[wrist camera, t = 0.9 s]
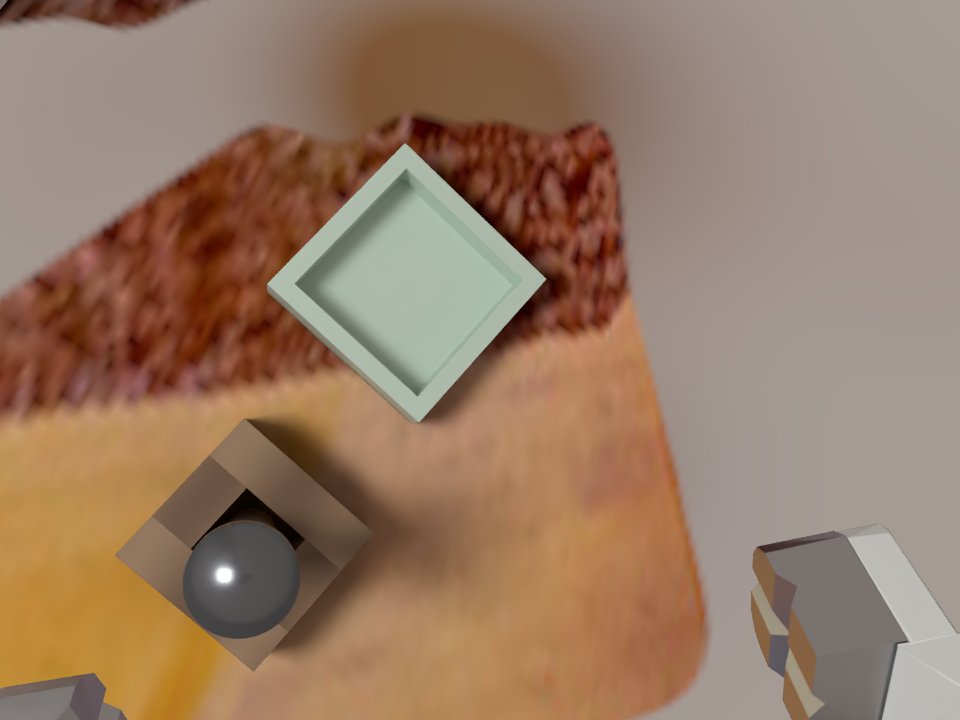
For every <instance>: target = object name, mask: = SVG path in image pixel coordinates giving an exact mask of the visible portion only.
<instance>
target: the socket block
mask: <svg viewBox="0 0 960 720" xmlns="http://www.w3.org/2000/svg"><path fill="white" fill-rule="evenodd" d="M246 488H247V489H249V490H250V491H251V492H252V493H253V494H254V495H255V496H257V497H258V498H259V499H260V500H261V501H262V502H263V503H265V504H266V505H267V506H268V507H269V508H270V509H271V510H273V511H274V512H275V513H276V514H277V515H278V516H280V517H281V518H282V519H283V520H284V521H285V522H286V523H288V524H289V525H290V526H291V527H292V528H293V529H294V530H296V531H297V532H298V533H299V535H298V536H297V537H296V538H295V540H294V541H293V542H292V543H291V545H292V547H293V549H294V551H295V553H296V556H297V560H298V564H299V569H300V586H299V592H298V595H297V598H296V600H295V603H294V605H293V607H292V608H291V610H290V612H289V613H288V614H287V615H286V617H285V618H284V619H283V620H282V621H281V622H280V623H279V624H278V625H276V626H275V627H274V628H272V629H271V630H269V631H267V632H265V633H263V634H261V635H258V636H255V637H251V638H245V639H231V638H225V637H221V636H218V635H216V634H213V633H212V632H210V631H208V630H206V629H205V628H204V627H202V626H201V625H200V624H199V623H198V622H197V621H196V620H195V619H194V617H193V616H192V615H191V613H190V611H189V609H188V607H187V605H186V602H185V599H184V595H183V575H184V570H185V567H186V564H187V561H188V559H189V557H190V555H191V554H192V552H193V550H194V549H195V547H196V546H197V544H198V543H199V542H200V541H199V539H200V538H201V537H202V536H203V535H204V534H205V533H206V531H207V530H208V529H209V528H210V527H211V526H212V525H213V524H214V523H215V522H216V521H217V520H218V518H219V517H220V516H221V515H222V514H223V513H224V512H225V511H226V510H227V509H228V508H229V507H230V506H231V504H232V503H233V502H234V501H235V500H236V499H237V498H238V497H239V496H240V495H241V494H242V493H243V491H244V490H245V489H246ZM373 534H374V533H373V532H372V531H371V530H370V529H369V528H368V527H367V525H365V524H364V523H363V522H362V521H361V520H360V519H359V518H358V517H356V516H355V515H354V514H353V513H352V512H351V511H350V510H348V509H347V508H346V507H345V506H344V505H343V504H342V503H341V502H339V501H338V500H337V499H336V498H335V497H334V496H333V495H332V494H330V493H329V492H328V491H327V490H326V489H325V488H324V487H322V486H321V485H320V484H319V483H318V482H317V481H316V480H315V479H313V478H312V477H311V476H310V475H309V474H308V473H307V472H306V471H304V470H303V469H302V468H301V467H300V466H299V465H298V464H296V463H295V462H294V461H293V460H292V459H291V458H290V457H289V456H287V455H286V454H285V453H284V452H283V451H282V450H281V449H279V448H278V447H277V446H276V445H275V444H274V443H273V442H272V441H270V440H269V439H268V438H267V437H266V436H265V435H264V434H263V433H261V432H260V431H259V430H258V429H257V428H256V427H255V426H253V425H252V424H251V423H250V422H249V421H248V420H247V419H243V420H242V421H241V422H240V423H239V424H238V425H237V427H236V428H235V429H234V430H233V431H232V432H231V433H230V434H229V435H228V436H227V437H226V438H225V439H224V440H223V441H222V442H221V443H220V445H219V446H218V447H217V448H216V449H215V450H214V451H213V452H212V453H211V454H210V455H209V456H208V457H207V458H206V459H205V460H204V461H203V463H202V464H201V465H200V466H199V467H198V468H197V469H196V470H195V471H194V472H193V473H192V474H191V475H190V476H189V477H188V478H187V479H186V481H185V482H184V483H183V484H182V485H181V486H180V487H179V488H178V489H177V490H176V491H175V492H174V493H173V494H172V495H171V496H170V497H169V499H168V500H167V501H166V502H165V503H164V504H163V505H162V506H161V507H160V508H159V509H158V510H157V511H156V512H155V513H154V514H153V515H152V516H151V518H150V519H149V520H148V521H147V522H146V523H145V524H144V525H143V526H142V527H141V528H140V529H139V530H138V531H137V532H136V533H135V534H134V536H133V537H132V538H131V539H130V540H129V541H128V542H127V543H126V544H125V545H124V546H123V547H122V548H121V549H120V550H119V551H118V552H117V554H116V555H115V556H116V557H118V558H119V559H120V560H121V561H122V562H124V563H125V564H126V565H127V566H128V567H130V568H131V569H132V570H133V571H134V572H136V573H137V574H138V575H139V576H140V577H141V578H143V579H144V580H145V581H146V582H147V583H149V584H150V585H151V586H152V587H153V588H155V589H156V590H157V591H158V592H159V593H161V594H162V595H163V596H164V597H165V598H166V599H168V600H169V601H170V602H171V603H172V604H174V605H175V606H176V607H177V608H178V609H180V610H181V611H182V612H183V613H184V614H186V615H187V616H188V617H189V618H190V619H192V620H193V621H194V622H195V623H196V624H197V625H199V626H200V627H201V628H202V629H203V630H205V631H206V632H207V633H208V634H209V635H211V636H212V637H213V638H214V639H215V640H217V641H218V642H219V643H220V644H221V645H222V646H224V647H225V648H226V649H227V650H228V651H230V652H231V653H232V654H233V655H234V656H236V657H237V658H238V659H239V660H240V661H242V662H243V663H244V664H245V665H246V666H247V667H249V668H250V669H251V670H252V671H253V672H254V671H255V669H256V668H257V667H258V666H259V665H260V664H261V663H262V661H263V660H264V659H265V658H266V657H267V656H268V655H269V653H270V652H271V651H272V650H273V649H274V648H275V647H276V645H277V644H278V643H279V642H280V641H281V640H282V639H283V637H284V636H285V635H286V634H287V633H288V632H289V631H290V629H291V628H292V627H293V626H294V625H295V624H296V622H297V621H298V620H299V619H300V618H301V617H302V616H303V614H304V613H305V612H306V611H307V610H308V609H309V608H310V606H311V605H312V604H313V603H314V602H315V601H316V600H317V598H318V597H319V596H320V595H321V594H322V593H323V592H324V590H325V589H326V588H327V587H328V586H329V585H330V584H331V582H332V581H333V580H334V579H335V578H336V577H337V575H338V574H339V573H340V572H341V571H342V570H343V569H344V567H345V566H346V565H347V564H348V563H349V562H350V561H351V559H352V558H353V557H354V556H355V555H356V554H357V553H358V551H359V550H360V549H361V548H362V547H363V546H364V545H365V543H366V542H367V541H368V540H369V539H370V538H371V537H372V535H373Z"/></svg>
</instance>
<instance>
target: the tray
mask: <svg viewBox="0 0 960 720" xmlns="http://www.w3.org/2000/svg"><path fill="white" fill-rule="evenodd" d="M545 280H546V278H545V277H544V276H543V275H542V274H541V273H540V272H538V271H537V270H536V269H535V268H534V267H533V266H532V265H531V264H530V263H529V262H528V261H527V260H526V259H525V258H524V257H523V256H522V255H521V254H520V253H519V252H518V251H517V250H516V249H515V248H514V247H512V246H511V245H510V244H509V243H508V242H507V241H506V240H505V239H504V238H503V237H502V236H501V235H500V234H499V233H498V232H497V231H496V230H495V229H494V228H493V227H492V226H491V225H490V224H489V223H488V222H487V221H485V220H484V219H483V218H482V217H481V216H480V215H479V214H478V213H477V212H476V211H475V210H474V209H473V208H472V207H471V206H470V205H469V204H468V203H467V202H466V201H465V200H464V199H463V198H462V197H461V196H459V195H458V194H457V193H456V192H455V191H454V190H453V189H452V188H451V187H450V186H449V185H448V184H447V183H446V182H445V181H444V180H443V179H442V178H441V177H440V176H439V175H438V174H437V173H436V172H435V171H434V170H432V169H431V168H430V167H429V166H428V165H427V164H426V163H425V162H424V161H423V160H422V159H421V158H420V157H419V156H418V155H417V154H416V153H415V152H414V151H413V150H412V149H411V148H410V147H409V146H408V145H406V144H404V145H403V146H402V147H401V148H400V149H399V150H398V151H397V152H396V153H395V154H394V155H393V156H392V157H391V158H390V159H389V160H388V161H387V162H386V163H385V164H384V165H383V166H382V167H381V168H380V169H379V170H378V171H377V172H376V173H375V174H374V176H373V177H372V178H371V179H370V180H369V181H368V182H367V183H366V184H365V185H364V186H363V187H362V188H361V189H360V190H359V191H358V192H357V193H356V194H355V195H354V196H353V197H352V198H351V199H350V200H349V201H348V202H347V203H346V204H345V205H344V206H343V207H342V208H341V209H340V210H339V211H338V212H337V213H336V214H335V215H334V216H333V217H332V218H331V219H330V220H329V221H328V222H327V224H326V225H325V226H324V227H323V228H322V229H321V230H320V231H319V232H318V233H317V234H316V235H315V236H314V237H313V238H312V239H311V240H310V241H309V242H308V243H307V244H306V245H305V246H304V247H303V248H302V249H301V250H300V251H299V252H298V253H297V254H296V255H295V256H294V257H293V258H292V259H291V260H290V261H289V262H288V263H287V264H286V265H285V266H284V267H283V268H282V269H281V270H280V271H279V273H278V274H277V275H276V276H275V277H274V278H273V279H272V280H271V281H270V282H269V283H268V284H267V292H268V293H269V294H270V295H271V296H272V297H273V298H274V299H275V300H276V301H277V302H279V303H280V304H281V305H282V306H283V307H284V308H285V309H286V310H287V311H288V312H290V313H291V314H292V315H293V316H294V317H295V318H296V319H297V320H298V321H299V322H300V323H302V324H303V325H304V326H305V327H306V328H307V329H308V330H309V331H310V332H311V333H313V334H314V335H315V336H316V337H317V338H318V339H319V340H320V341H321V342H322V343H324V344H325V345H326V346H327V347H328V348H329V349H330V350H331V351H332V352H333V353H335V354H336V355H337V356H338V357H339V358H340V359H341V360H342V361H343V362H344V363H346V364H347V365H348V366H349V367H350V368H351V369H352V370H353V371H354V372H355V373H356V374H358V375H359V376H360V377H361V378H362V379H363V380H364V381H365V382H366V383H367V384H369V385H370V386H371V387H372V388H373V389H374V390H375V391H376V392H377V393H378V394H380V395H381V396H382V397H383V398H384V399H385V400H386V401H387V402H388V403H389V404H391V405H392V406H393V407H394V408H395V409H396V410H397V411H398V412H399V413H400V414H401V415H403V416H404V417H405V418H406V419H407V420H408V421H409V422H410V423H419V422H420V421H421V420H422V419H423V417H424V416H425V415H426V414H427V413H428V412H429V411H430V410H431V408H432V407H433V406H434V405H435V404H436V403H437V402H438V401H439V399H440V398H441V397H442V396H443V395H444V394H445V393H446V392H447V390H448V389H449V388H450V387H451V386H452V385H453V384H454V383H455V381H456V380H457V379H458V378H459V377H460V376H461V375H462V374H463V372H464V371H465V370H466V369H467V368H468V367H469V366H470V365H471V363H472V362H473V361H474V360H475V359H476V358H477V357H478V356H479V354H480V353H481V352H482V351H483V350H484V349H485V348H486V347H487V345H488V344H489V343H490V342H491V341H492V340H493V339H494V338H495V336H496V335H497V334H498V333H499V332H500V331H501V330H502V329H503V327H504V326H505V325H506V324H507V323H508V322H509V321H510V320H511V318H512V317H513V316H514V315H515V314H516V313H517V312H518V311H519V309H520V308H521V307H522V306H523V305H524V304H525V303H526V302H527V300H528V299H529V298H530V297H531V296H532V295H533V294H534V293H535V291H536V290H537V289H538V288H539V287H540V286H541V285H542V284H543V282H544V281H545Z"/></svg>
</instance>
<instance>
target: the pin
mask: <svg viewBox="0 0 960 720" xmlns="http://www.w3.org/2000/svg"><path fill="white" fill-rule="evenodd" d="M299 586H300V569H299V564H298V560H297V556H296V553H295V551H294V549H293V547H292V545H291V544H290V542H289V541H288V540H287V538H286V537H285V536H284V535H283V534H282V533H280V532H279V531H278V530H276V526H275V524H274V522H273V520H272V519H271V517H270V516H269V515H268V514H266V513H265V512H263V511H261V510H257V509H246V510H242V511H240V512H238V513H236V514H235V515H234V516H233V517H232V518H231V519H230V520H229V521H228V523H226V524H224V525H221V526H219V527H217V528H216V529H214V530H212V531H211V532H209V533H208V534H207V535H206V536H205V537H204V538H203V539H202V540H201V541H200V542H199V543H198V544H197V546H196V547H195V549H194V550H193V552H192V554H191V555H190V557H189V559H188V561H187V564H186V567H185V570H184V575H183V595H184V599H185V602H186V605H187V607H188V609H189V611H190V613H191V615H192V616H193V617H194V619H195V620H196V621H197V622H198V623H199V624H200V625H201V626H202V627H204V628H205V629H206V630H208V631H210V632H212V633H213V634H216V635H218V636H221V637H225V638H231V639H245V638H251V637H255V636H258V635H261V634H263V633H265V632H267V631H269V630H271V629H272V628H274V627H275V626H276V625H278V624H279V623H280V622H281V621H282V620H283V619H284V618H285V617H286V615H287V614H288V613H289V612H290V610H291V608H292V607H293V605H294V603H295V600H296V598H297V595H298V592H299Z"/></svg>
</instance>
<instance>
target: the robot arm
mask: <svg viewBox="0 0 960 720" xmlns="http://www.w3.org/2000/svg"><path fill="white" fill-rule="evenodd" d="M6 1H7V0H0V9H1V8H2V6H3V5H4V4H5V3H6ZM753 570H754V572H755V574H756V576H757V578H758V581H759V583H758V584H757V586H756V587H755V588H754V589H753V590H752V591H751V611H752V617H753V623H754V628H755V632H756V635H757V638H758V642H759V645H760V648H761V650H762V653H763V655H764V657H765V659H766V662H767V664H768V667H770V668H771V669H772V670H774V671H775V672H777V673H778V674H780V675H781V676H782V677H784V690H783V701H784V703H785V705H786V708H787V710H788V712H789V714H790V717H791V719H792V720H960V633H957V631H956V630H955V628H954V627H953V625H952V624H951V622H950V621H949V619H948V618H947V616H946V615H945V613H944V612H943V610H942V609H941V607H940V606H939V604H938V603H937V601H936V600H935V599H934V597H933V596H932V594H931V593H930V591H929V589H928V588H927V587H926V585H925V583H924V582H923V581H922V579H921V578H920V576H919V575H918V573H917V572H916V570H915V569H914V567H913V566H912V564H911V563H910V561H909V560H908V558H907V557H906V555H905V554H904V552H903V551H902V549H901V548H900V546H899V545H898V543H897V542H896V540H895V539H894V537H893V536H892V534H891V533H890V531H889V530H888V529H887V528H885V527H884V526H882V525H881V524H873V525H868V526H863V527H858V528H853V529H847V530H842V531H838V532H835V531H832V532H827V533H822V534H817V535H812V536H807V537H802V538H797V539H792V540H788V541H782V542H777V543H772V544H768V545H763V546H758V547H757V548H756V549H755V551H754V553H753ZM105 691H106V688H105V686H104V685H103V684H102V683H101V681H100V680H99V679H98V677H97V676H96V675H95V674H94V673H91V674H84V675H78V676H72V677H66V678H59V679H53V680H47V681H41V682H35V683H28V684H22V685H16V686H10V687H4V688H0V720H127V719H126V717H125V716H124V714H123V713H122V711H121V710H120V709H118V708H115V707H113V706H111V705H108V704H106V703H104V702H103V699H104V695H105Z"/></svg>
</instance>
